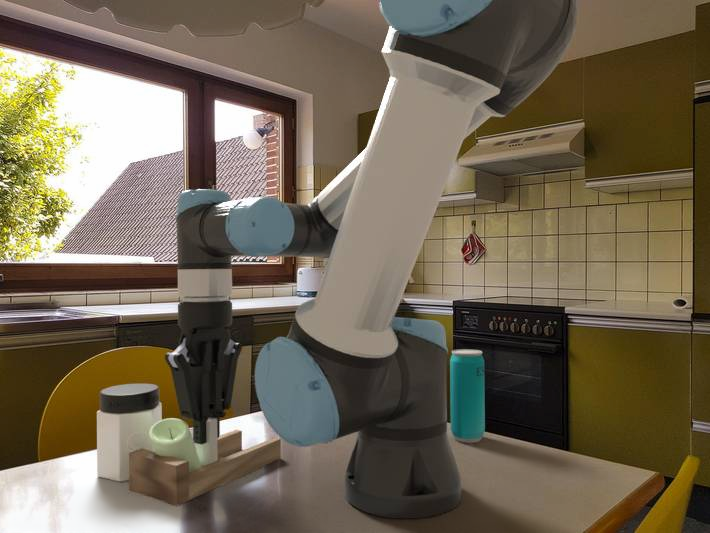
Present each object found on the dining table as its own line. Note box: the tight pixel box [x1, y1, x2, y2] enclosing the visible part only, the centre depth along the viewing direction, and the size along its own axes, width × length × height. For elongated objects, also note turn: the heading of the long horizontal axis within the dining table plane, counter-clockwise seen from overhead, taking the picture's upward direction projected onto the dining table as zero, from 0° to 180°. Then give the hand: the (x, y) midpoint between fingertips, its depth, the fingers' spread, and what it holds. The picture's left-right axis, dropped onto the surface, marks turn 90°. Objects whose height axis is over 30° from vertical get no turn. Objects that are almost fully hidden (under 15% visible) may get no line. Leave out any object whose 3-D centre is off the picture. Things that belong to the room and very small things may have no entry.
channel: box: [128, 429, 282, 507], centre depth 80 cm, size 9×20×5 cm, turn 148°
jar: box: [96, 382, 163, 483], centre depth 81 cm, size 9×8×12 cm
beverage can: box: [449, 348, 486, 444], centre depth 95 cm, size 6×6×15 cm
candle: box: [149, 417, 202, 472], centre depth 75 cm, size 5×5×8 cm
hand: (206, 463), depth 79 cm, fingers closed
